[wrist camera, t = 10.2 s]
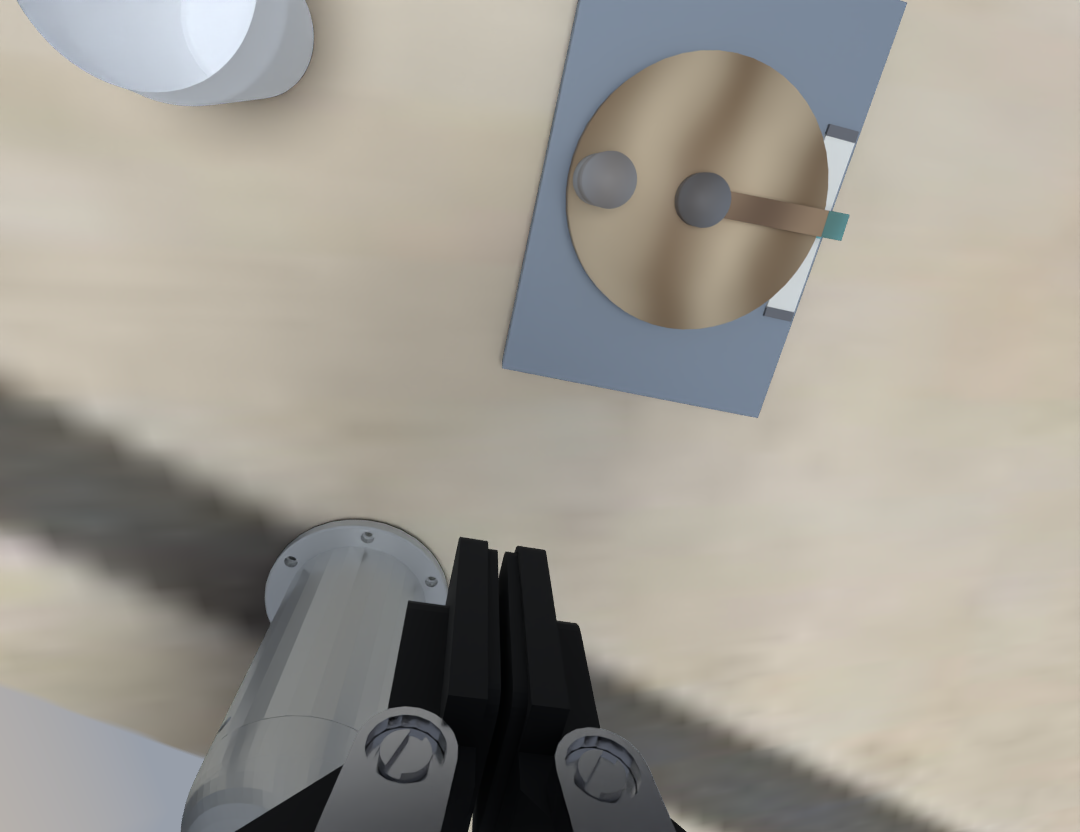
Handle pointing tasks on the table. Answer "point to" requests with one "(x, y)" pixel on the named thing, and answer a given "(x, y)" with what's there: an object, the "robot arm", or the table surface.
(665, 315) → the crank wheel
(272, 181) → the table surface
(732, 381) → the blue-grey base board
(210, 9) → the cup
